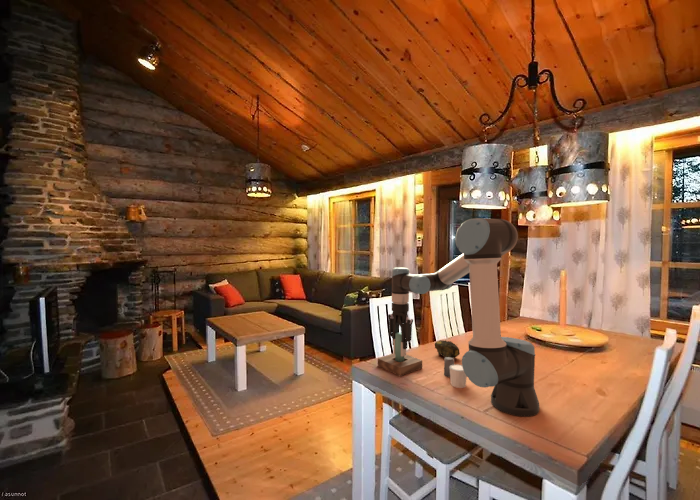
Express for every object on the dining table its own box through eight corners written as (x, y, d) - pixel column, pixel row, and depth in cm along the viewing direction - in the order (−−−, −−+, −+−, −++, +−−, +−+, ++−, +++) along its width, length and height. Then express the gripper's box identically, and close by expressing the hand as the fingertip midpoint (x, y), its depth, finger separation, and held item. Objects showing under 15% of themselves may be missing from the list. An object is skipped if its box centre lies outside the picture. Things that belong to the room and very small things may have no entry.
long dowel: (406, 365, 155) (406, 334, 154) (399, 367, 152) (400, 335, 152) (399, 362, 158) (399, 332, 157) (393, 364, 156) (393, 333, 155)
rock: (463, 340, 167) (454, 340, 162) (464, 360, 165) (455, 360, 160) (442, 340, 176) (432, 340, 171) (442, 358, 174) (433, 359, 169)
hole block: (422, 368, 154) (422, 360, 154) (400, 376, 145) (400, 367, 145) (399, 359, 165) (399, 352, 165) (377, 366, 156) (377, 358, 156)
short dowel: (455, 375, 146) (456, 359, 146) (450, 377, 144) (450, 361, 143) (448, 372, 149) (448, 356, 149) (442, 374, 147) (442, 358, 146)
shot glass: (459, 390, 132) (459, 372, 132) (445, 383, 138) (445, 366, 138) (471, 385, 136) (471, 368, 136) (457, 379, 142) (457, 362, 141)
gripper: (420, 304, 150) (419, 357, 151) (392, 298, 163) (392, 347, 164) (408, 306, 145) (408, 361, 146) (380, 300, 158) (380, 350, 159)
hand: (399, 354), depth 155 cm, fingers closed on long dowel, 4 cm apart
